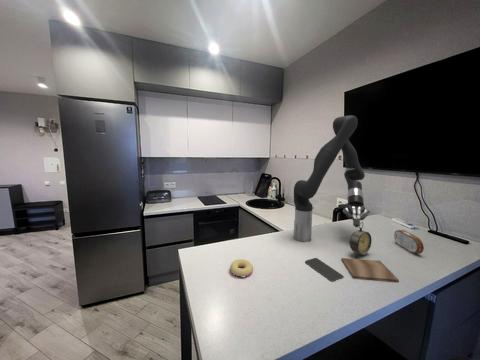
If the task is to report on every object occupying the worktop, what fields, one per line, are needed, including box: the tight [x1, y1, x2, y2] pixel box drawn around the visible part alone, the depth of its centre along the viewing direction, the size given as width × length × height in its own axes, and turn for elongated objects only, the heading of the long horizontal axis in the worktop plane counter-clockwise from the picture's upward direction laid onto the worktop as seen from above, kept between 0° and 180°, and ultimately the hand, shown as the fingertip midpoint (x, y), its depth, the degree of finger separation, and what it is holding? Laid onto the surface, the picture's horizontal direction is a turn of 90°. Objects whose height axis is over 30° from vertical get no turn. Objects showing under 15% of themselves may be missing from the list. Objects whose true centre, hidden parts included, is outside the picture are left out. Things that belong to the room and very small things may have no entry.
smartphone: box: [304, 257, 345, 283], centre depth 82 cm, size 7×1×15 cm
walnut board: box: [340, 257, 400, 283], centre depth 81 cm, size 16×13×1 cm
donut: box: [229, 258, 254, 277], centre depth 81 cm, size 10×5×9 cm
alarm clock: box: [349, 221, 373, 259], centre depth 92 cm, size 11×5×16 cm, turn 117°
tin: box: [393, 229, 425, 254], centre depth 98 cm, size 15×3×8 cm, turn 179°
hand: (356, 226), depth 99 cm, fingers closed
